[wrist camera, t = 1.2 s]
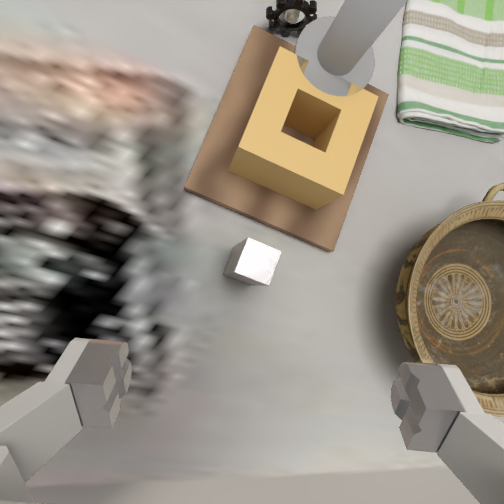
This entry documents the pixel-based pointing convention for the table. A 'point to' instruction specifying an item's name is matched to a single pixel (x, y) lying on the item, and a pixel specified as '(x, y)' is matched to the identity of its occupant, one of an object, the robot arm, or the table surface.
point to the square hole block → (316, 106)
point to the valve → (291, 15)
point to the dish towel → (453, 67)
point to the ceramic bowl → (459, 298)
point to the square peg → (252, 262)
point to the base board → (238, 114)
